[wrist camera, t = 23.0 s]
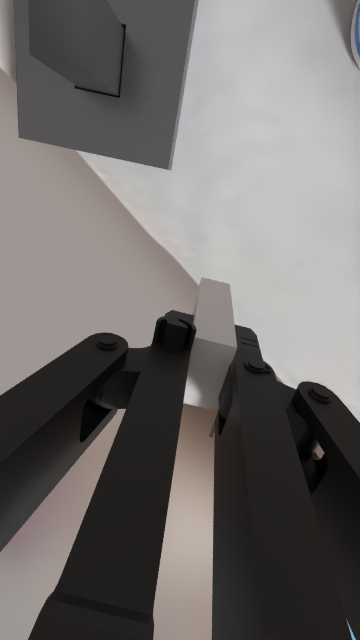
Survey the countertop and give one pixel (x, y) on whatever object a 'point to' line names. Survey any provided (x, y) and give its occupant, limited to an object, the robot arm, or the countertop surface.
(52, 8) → the plug
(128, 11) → the socket plate
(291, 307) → the countertop surface
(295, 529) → the robot arm
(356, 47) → the supplement tub
